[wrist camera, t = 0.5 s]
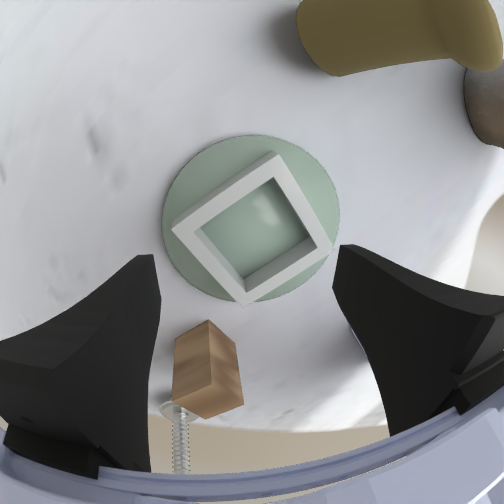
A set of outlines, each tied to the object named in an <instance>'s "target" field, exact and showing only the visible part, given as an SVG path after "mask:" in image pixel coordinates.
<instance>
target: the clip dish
mask: <svg viewBox="0 0 504 504" xmlns="http://www.w3.org/2000/svg"><path fill="white" fill-rule="evenodd" d="M339 221H340V209H339V201H338V197H337V193H336V189H335V187H334V185H333V182H332V180H331V178H330V177H329V175H328V173H327V172H326V170H325V169H324V168H323V166H322V165H321V164H320V163H319V162H318V161H317V160H316V159H315V158H314V157H313V156H312V155H310V154H309V153H308V152H306V151H305V150H303V149H302V148H300V147H299V146H296V145H294V144H292V143H290V142H288V141H285V140H282V139H278V138H275V137H269V136H262V135H247V136H240V137H234V138H230V139H227V140H223V141H221V142H218V143H216V144H214V145H212V146H210V147H208V148H207V149H205V150H203V151H202V152H200V153H199V154H198V155H196V156H195V157H194V158H193V159H192V160H190V161H189V162H188V163H187V164H186V166H185V167H184V168H183V169H182V170H181V171H180V173H179V174H178V176H177V177H176V179H175V180H174V182H173V184H172V186H171V188H170V190H169V192H168V194H167V198H166V201H165V204H164V209H163V215H162V233H163V240H164V243H165V247H166V250H167V253H168V255H169V257H170V259H171V261H172V263H173V264H174V266H175V267H176V269H177V270H178V271H179V273H180V274H181V275H182V276H183V277H184V278H185V279H186V280H187V281H188V282H189V283H190V284H192V285H193V286H195V287H196V288H197V289H199V290H201V291H202V292H204V293H206V294H208V295H211V296H213V297H216V298H219V299H223V300H227V301H233V302H237V303H238V304H239V305H240V306H241V307H242V308H244V307H246V306H247V305H249V304H251V303H252V302H259V301H264V300H269V299H273V298H276V297H279V296H281V295H284V294H286V293H289V292H290V291H292V290H294V289H296V288H297V287H299V286H300V285H302V284H303V283H305V282H306V281H307V280H308V279H309V278H311V277H312V276H313V275H314V274H315V273H316V272H317V271H318V269H319V268H320V267H321V266H322V264H323V263H324V262H325V260H326V259H327V257H328V255H329V254H330V253H331V252H333V251H334V250H335V249H334V247H333V245H334V243H335V240H336V237H337V233H338V228H339Z"/></svg>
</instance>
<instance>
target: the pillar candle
mask: <svg viewBox="0 0 504 504" xmlns="http://www.w3.org/2000/svg"><path fill="white" fill-rule="evenodd" d="M464 95H465V103H466V108H467V112H468V115H469V118H470V121H471V124H472V127H473V129H474V132H475V133H476V135H477V136H478V138H479V139H480V140H481V141H482V142H484V143H485V144H489V145H494V146H497V147H501V148H503V149H504V59H503V60H502V63H501V65H500V67H499V68H497V69H495V70H493V71H486V72H482V71H475V70H472V69H469V68H467V70H466V74H465V79H464Z"/></svg>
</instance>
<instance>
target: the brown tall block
mask: <svg viewBox="0 0 504 504" xmlns="http://www.w3.org/2000/svg"><path fill="white" fill-rule="evenodd" d="M172 402H174V403H176V404H177V405H179V406H181V407H183V408H185V409H187V410H188V411H190V412H192V413H194V414H196V415H198V416H200V417H202V418H204V419H208V418H211V417H214V416H216V415H219V414H221V413H224V412H227V411H229V410H232V409H234V408H236V407H239V406H241V405H244V400H243V394H242V387H241V381H240V374H239V368H238V361H237V354H236V347H235V343H234V342H233V341H232V340H231V339H230V338H228V337H227V336H226V335H225V334H224V333H223V332H222V331H221V330H220V329H218V328H217V327H216V326H215V325H214V324H213V323H212V322H211V321H210V320H209V319H208V320H207V321H205V322H203V323H202V324H200V325H198V326H197V327H195V328H193V329H191V330H190V331H188V332H186V333H185V334H183V335H181V336H179V337H178V338H176V339H175V352H174V366H173V384H172Z"/></svg>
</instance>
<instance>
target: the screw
mask: <svg viewBox="0 0 504 504" xmlns="http://www.w3.org/2000/svg"><path fill="white" fill-rule="evenodd" d="M160 413H161V414H162V415H163V416H164V417H165V418H167V419H169V420H172V423H173V425H172V426H173V429H172V431H173V434H172V436H173V438H172V440H173V441H174V442H173V443H172V445H173V447H172V449H173V450H174V451H173V452H172V454H173V455H174V456H173V457H172V458H173V459H174V461H172V463H173V464H174V465H173V466H172V467H173V468H174V471H173V473H174V474H186V475H189V474H188V473H189V471H190V470H189V466H190V465H189V464H188V462H189V461H190V460H188V457H190V456H189V455H188V453H189V451H188V448H189V446H188V443H189V442H188V439H189V437H187V435H188V434H189V433H188V432H187V431H188V430H189V429H188V428H187V426H189V424H187V422H191V421H194V420H196V419H197V418H199V417H200V416H198V415H196V414H194V413H192V412H190V411H188V410H187V409H185V408H183V407H181V406H179V405H177V404H176V403H174V402H172V396H171V397H170V399H169V401H167V402H164V403H163V404H162V405H161V406H160Z"/></svg>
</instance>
